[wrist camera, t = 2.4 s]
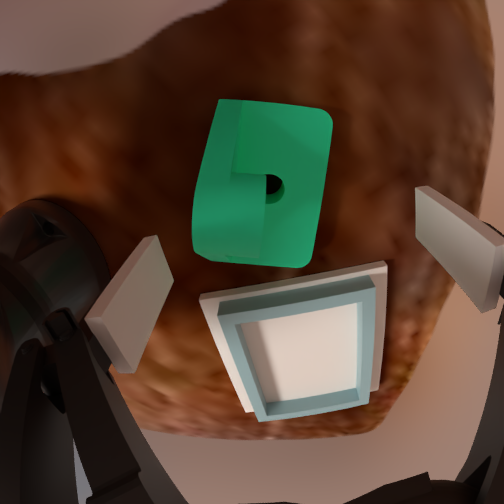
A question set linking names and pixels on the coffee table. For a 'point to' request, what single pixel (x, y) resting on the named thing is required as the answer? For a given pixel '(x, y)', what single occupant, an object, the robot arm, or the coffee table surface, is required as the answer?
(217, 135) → the camera mount
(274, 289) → the dock
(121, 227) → the coffee table surface
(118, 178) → the coffee table surface
